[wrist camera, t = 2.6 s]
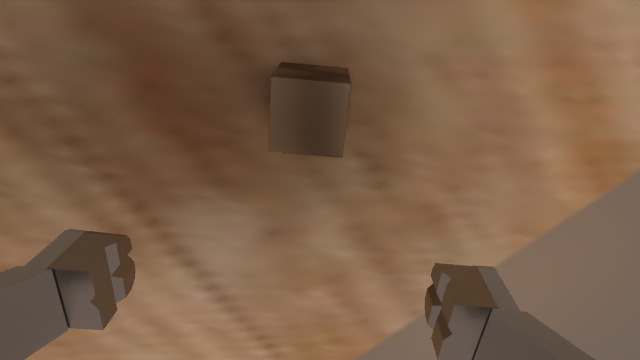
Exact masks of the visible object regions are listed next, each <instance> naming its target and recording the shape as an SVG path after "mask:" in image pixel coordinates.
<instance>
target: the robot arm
mask: <svg viewBox="0 0 640 360" xmlns="http://www.w3.org/2000/svg"><path fill="white" fill-rule="evenodd" d="M131 249H132V246H131V241H130V238H129V237H128V236H126V235H121V234H112V233H103V232H94V231H84V230H73V229H70V230H66V231H64V232H63V233H62V234H61V235H59V236H58V237H57V238H56V239H55V240H54V241H53V242H51V243H50V244H49V245H48V246H47V247H46V248H45V249H43V250H42V251H41V252H40V253H39V254H38V255H37V256H35V257H34V258H33V259H32V260H31V261H30V262H29V263H27V264H26V265H25V266H24V267H20V266H17V267H14V268H12V269H9V270H6V271H4V272H1V273H0V360H24V359H26V358H27V357H29V356H30V355H32V354H33V353H35V352H36V351H38V350H39V349H41V348H42V347H44V346H45V345H47V344H48V343H50V342H51V341H53V340H54V339H56V338H57V337H59V336H60V335H61V334H63V333H64V332H66V331H67V330H68V328H77V329H93V330H104V328H105V327H106V326H107V324H108V323H109V321H110V320H111V318H112V317H113V315H114V314H115V313H116V311H117V306H116V303H117V302H119V301H120V300H122V299H124V298H126V297H127V295H128V293H129V292H130V290H131V289H132V286H133V283H134V279H135V263H134V261H133V260H132V259H131V258H130V257H129V256H128V253H129V252H130V251H131ZM431 277H432V280H433V284H432V285H431V286H429V287H428V288H427V292H426V296H425V316H426V320H427V324H428V325H429V326H430V327H431V328H432V329H433V334H432V337H431V338H432V342H433V345H434V349H435V352H436V356H437V359H438V360H595V359H593V358H592V357H591V356H589V355H588V354H586V353H585V352H583V351H582V350H581V349H579V348H578V347H576V346H575V345H574V344H572V343H571V342H569V341H568V340H566V339H565V338H563V337H562V336H561V335H559V334H558V333H556V332H555V331H553V330H552V329H551V328H549V327H548V326H546V325H545V324H543V323H542V322H540V321H539V320H538V319H536V318H535V317H533V316H532V315H531V314H529V313H528V312H524V311H520V309H519V308H518V306H517V304H516V303H515V301H514V299H513V297H512V296H511V294H510V292H509V291H508V289H507V287H506V286H505V284H504V282H503V280H502V279H501V277H500V275H499V274H498V272H497V270H496V269H495V268H493V267H488V266H465V265H453V264H441V263H435V265H434V267H433V269H432V273H431Z"/></svg>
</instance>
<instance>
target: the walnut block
mask: <svg viewBox="0 0 640 360" xmlns="http://www.w3.org/2000/svg"><path fill="white" fill-rule="evenodd" d="M350 87H351V82H350V77H349V72H348V68H339V67H328V66H317V65H306V64H296V63H285V62H281V64H280V65H279V66H278V68H277V69H276V70H275V72H274V73H273V74H272V76H271V91H270V128H269V151H272V152H283V153H295V154H306V155H317V156H328V157H339V158H342V155H343V147H344V138H345V130H346V121H347V113H348V104H349V96H350Z"/></svg>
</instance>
